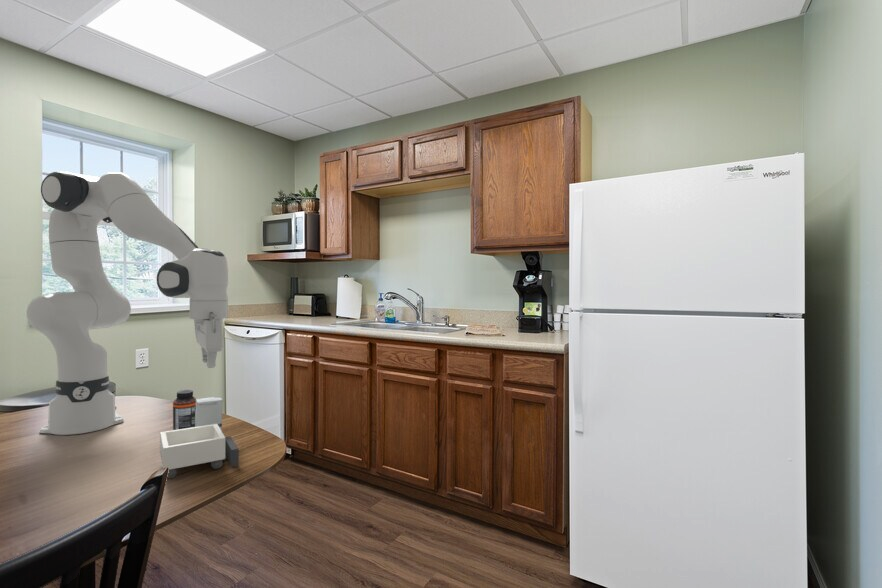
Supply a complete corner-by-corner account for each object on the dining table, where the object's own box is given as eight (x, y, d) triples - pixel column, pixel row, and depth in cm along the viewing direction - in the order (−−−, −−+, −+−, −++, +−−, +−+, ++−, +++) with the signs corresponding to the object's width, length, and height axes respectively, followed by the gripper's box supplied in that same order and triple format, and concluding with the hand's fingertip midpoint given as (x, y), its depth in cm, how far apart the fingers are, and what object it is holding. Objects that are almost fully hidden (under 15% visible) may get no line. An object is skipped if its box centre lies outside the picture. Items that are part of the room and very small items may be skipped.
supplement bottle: (176, 427, 130) (176, 389, 130) (199, 426, 131) (199, 388, 131) (169, 434, 124) (169, 394, 124) (193, 433, 126) (193, 393, 125)
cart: (160, 462, 105) (160, 432, 105) (217, 452, 112) (217, 423, 112) (163, 481, 95) (163, 448, 95) (225, 469, 102) (225, 437, 102)
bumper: (224, 453, 112) (224, 437, 112) (230, 452, 113) (230, 436, 112) (231, 467, 104) (231, 450, 103) (238, 465, 104) (238, 448, 104)
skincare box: (195, 450, 113) (196, 402, 113) (194, 444, 117) (194, 398, 117) (222, 445, 117) (223, 399, 116) (220, 440, 120) (220, 395, 120)
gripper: (229, 314, 109) (229, 370, 110) (216, 309, 126) (216, 357, 126) (200, 314, 106) (200, 373, 106) (190, 309, 122) (190, 359, 123)
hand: (208, 364), depth 116 cm, fingers open, 7 cm apart
